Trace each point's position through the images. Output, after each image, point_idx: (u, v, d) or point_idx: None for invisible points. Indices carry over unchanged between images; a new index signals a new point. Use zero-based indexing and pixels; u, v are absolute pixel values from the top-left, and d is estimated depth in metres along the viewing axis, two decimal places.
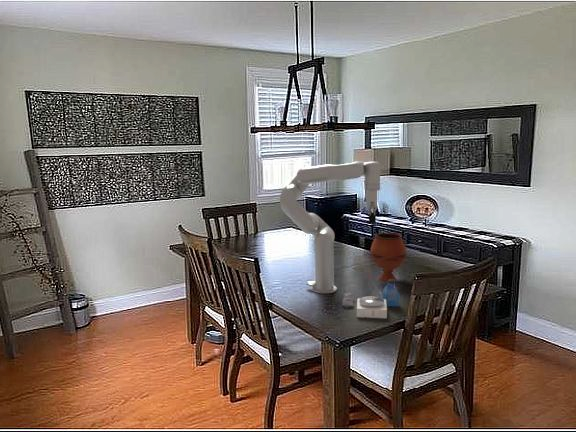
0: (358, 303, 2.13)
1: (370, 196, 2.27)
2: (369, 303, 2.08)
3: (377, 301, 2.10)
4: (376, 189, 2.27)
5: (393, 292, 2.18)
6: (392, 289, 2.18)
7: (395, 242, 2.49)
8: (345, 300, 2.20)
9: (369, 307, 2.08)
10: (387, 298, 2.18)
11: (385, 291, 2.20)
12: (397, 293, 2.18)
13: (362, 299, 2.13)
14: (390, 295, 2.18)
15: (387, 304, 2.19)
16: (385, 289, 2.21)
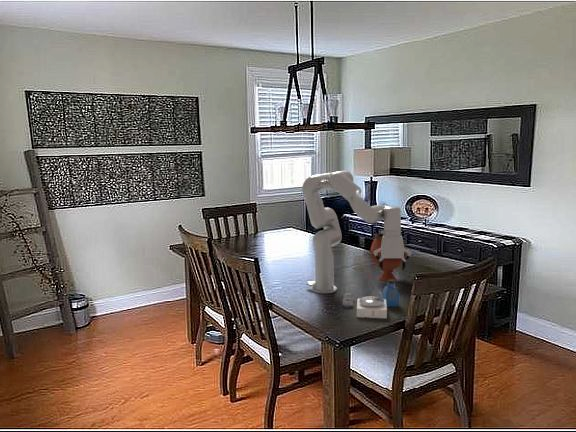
0: (358, 303, 2.13)
1: (402, 242, 2.15)
2: (369, 303, 2.08)
3: (377, 301, 2.10)
4: None
5: (393, 292, 2.18)
6: (392, 289, 2.18)
7: None
8: (345, 300, 2.20)
9: (369, 307, 2.08)
10: (387, 298, 2.18)
11: (385, 291, 2.20)
12: (397, 293, 2.18)
13: (362, 299, 2.13)
14: (390, 295, 2.18)
15: (387, 304, 2.19)
16: (385, 289, 2.21)
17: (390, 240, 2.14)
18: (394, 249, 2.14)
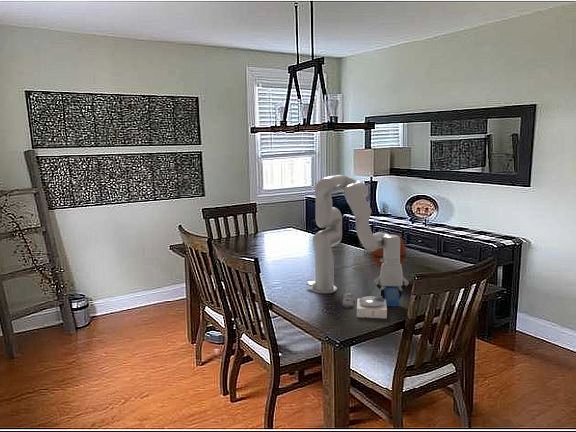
0: (358, 303, 2.13)
1: (401, 271, 2.17)
2: (369, 303, 2.08)
3: (377, 301, 2.10)
4: None
5: (393, 292, 2.18)
6: (392, 289, 2.18)
7: None
8: (345, 300, 2.20)
9: (369, 307, 2.08)
10: (387, 298, 2.18)
11: (385, 291, 2.20)
12: (397, 293, 2.18)
13: (362, 299, 2.13)
14: (390, 295, 2.18)
15: (387, 304, 2.19)
16: (385, 289, 2.21)
17: (389, 268, 2.16)
18: (393, 277, 2.17)
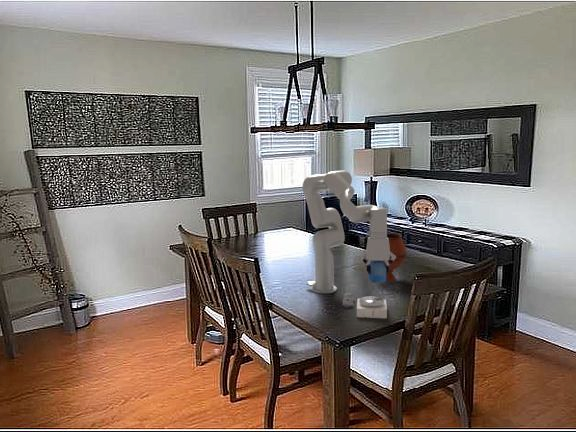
0: (358, 303, 2.13)
1: (388, 244, 2.08)
2: (369, 303, 2.08)
3: (377, 301, 2.10)
4: None
5: (380, 267, 2.09)
6: (379, 264, 2.09)
7: (395, 242, 2.49)
8: (345, 300, 2.20)
9: (369, 307, 2.08)
10: (374, 273, 2.09)
11: (371, 266, 2.11)
12: (384, 268, 2.09)
13: (362, 299, 2.13)
14: (377, 270, 2.09)
15: (374, 279, 2.10)
16: (371, 264, 2.12)
17: (376, 242, 2.07)
18: (380, 251, 2.08)
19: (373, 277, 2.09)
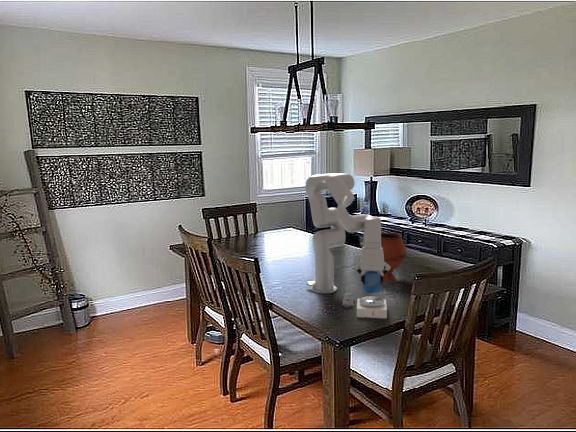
0: (358, 303, 2.13)
1: (383, 254, 2.06)
2: (369, 303, 2.08)
3: (377, 301, 2.10)
4: None
5: (374, 277, 2.07)
6: (373, 274, 2.07)
7: (395, 242, 2.49)
8: (345, 300, 2.20)
9: (369, 307, 2.08)
10: (368, 284, 2.07)
11: (366, 276, 2.09)
12: (378, 278, 2.07)
13: (362, 299, 2.13)
14: (371, 281, 2.07)
15: (368, 290, 2.08)
16: (366, 274, 2.10)
17: (369, 252, 2.05)
18: (374, 261, 2.06)
19: (367, 287, 2.07)
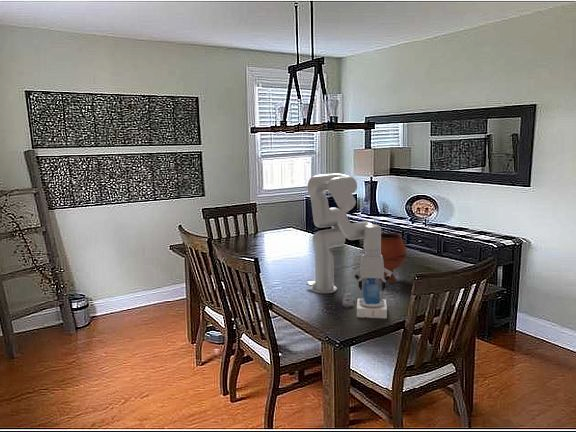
0: (358, 303, 2.13)
1: (382, 262, 2.07)
2: (369, 304, 2.08)
3: None
4: None
5: (373, 288, 2.08)
6: (372, 285, 2.08)
7: (395, 242, 2.49)
8: (345, 300, 2.20)
9: (369, 307, 2.08)
10: (367, 294, 2.08)
11: (365, 287, 2.10)
12: (377, 289, 2.08)
13: (362, 300, 2.13)
14: (370, 292, 2.08)
15: (367, 301, 2.09)
16: (365, 285, 2.11)
17: (369, 260, 2.06)
18: (374, 269, 2.06)
19: (366, 298, 2.09)
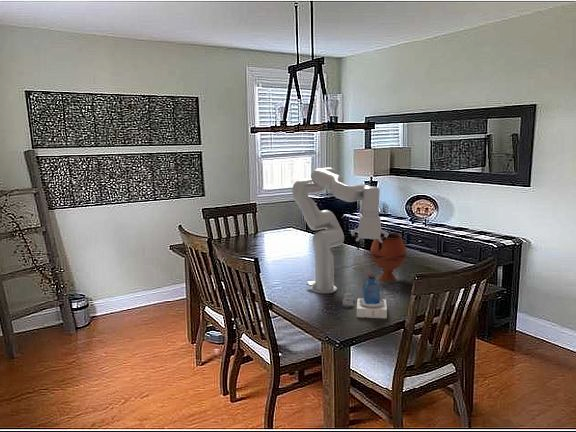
0: (358, 303, 2.13)
1: (380, 223, 2.13)
2: (369, 304, 2.08)
3: None
4: None
5: (373, 288, 2.08)
6: (372, 285, 2.08)
7: (395, 242, 2.49)
8: (345, 300, 2.20)
9: (369, 307, 2.08)
10: (367, 294, 2.08)
11: (365, 287, 2.10)
12: (377, 289, 2.08)
13: (362, 300, 2.13)
14: (370, 292, 2.08)
15: (367, 301, 2.09)
16: (365, 285, 2.11)
17: (367, 220, 2.12)
18: (371, 230, 2.13)
19: (366, 298, 2.09)
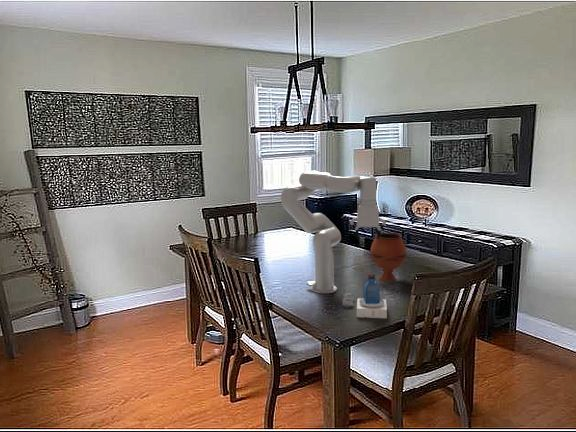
0: (358, 303, 2.13)
1: (378, 212, 2.21)
2: (369, 304, 2.08)
3: None
4: None
5: (373, 288, 2.08)
6: (372, 285, 2.08)
7: (395, 242, 2.49)
8: (345, 300, 2.20)
9: (369, 307, 2.08)
10: (367, 294, 2.08)
11: (365, 287, 2.10)
12: (377, 289, 2.08)
13: (362, 300, 2.13)
14: (370, 292, 2.08)
15: (367, 301, 2.09)
16: (365, 285, 2.11)
17: (365, 209, 2.20)
18: (369, 218, 2.21)
19: (366, 298, 2.09)
